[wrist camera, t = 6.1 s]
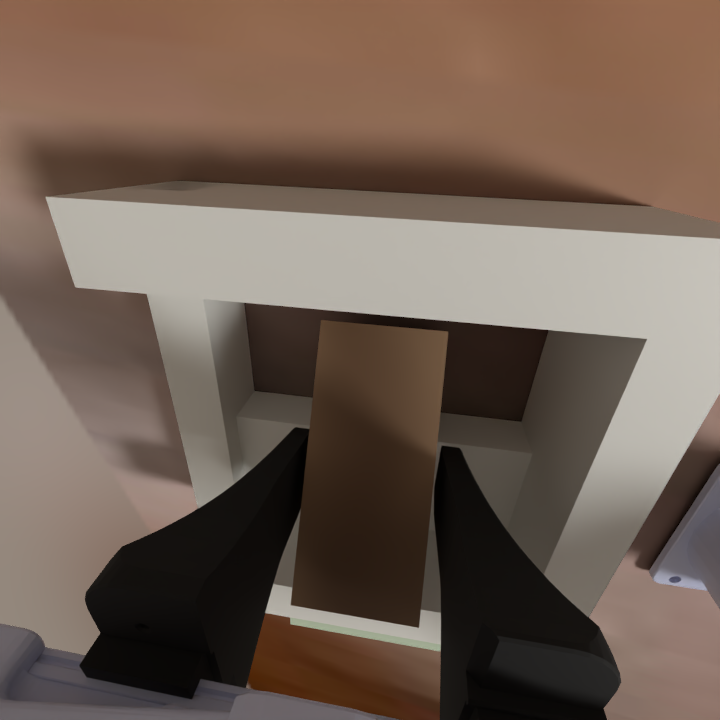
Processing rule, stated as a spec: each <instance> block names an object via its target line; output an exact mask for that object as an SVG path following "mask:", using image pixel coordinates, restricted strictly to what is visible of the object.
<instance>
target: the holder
mask: <svg viewBox="0 0 720 720" xmlns="http://www.w3.org/2000/svg"><path fill="white" fill-rule="evenodd" d="M46 200H47V203H48V206H49V209H50V212H51V215H52V218H53V221H54V224H55V227H56V230H57V234H58V237H59V240H60V243H61V246H62V249H63V252H64V255H65V258H66V261H67V264H68V267H69V270H70V273H71V276H72V279H73V282H74V285H75V287H76V288H87V289H98V290H109V291H120V292H131V293H142V294H147V297H148V301H149V306H150V310H151V314H152V318H153V322H154V327H155V331H156V335H157V339H158V343H159V347H160V352H161V356H162V360H163V364H164V368H165V372H166V377H167V381H168V385H169V389H170V393H171V397H172V402H173V406H174V410H175V414H176V418H177V423H178V427H179V431H180V435H181V439H182V443H183V448H184V452H185V456H186V460H187V464H188V468H189V473H190V477H191V481H192V485H193V489H194V494H195V498H196V502H197V506H198V508H200V507H202V506H203V505H205V504H206V503H208V502H209V501H211V500H213V499H214V498H216V497H217V496H218V495H220V494H221V493H223V492H224V491H225V490H227V489H228V488H229V487H231V486H232V485H233V484H235V483H236V482H237V481H238V480H240V479H241V478H242V477H243V476H244V475H246V474H247V473H248V472H249V471H250V470H251V469H253V468H254V467H255V466H256V465H257V464H258V463H259V462H260V461H261V460H262V459H264V458H265V457H266V456H267V455H268V454H269V453H270V452H271V451H272V450H273V449H274V448H275V447H276V446H277V445H278V444H279V443H280V442H281V441H282V440H283V439H284V438H285V437H286V436H287V435H288V434H289V433H290V431H291V430H292V429H294V428H295V427H298V428H306V429H309V428H310V418H311V409H312V400H313V398H312V397H303V396H294V395H286V394H277V393H268V392H260V391H254V383H253V375H252V366H251V357H250V348H249V339H248V330H247V322H246V313H245V304H244V303H254V304H265V305H276V306H287V307H298V308H309V309H320V310H331V311H342V312H354V313H365V314H376V315H387V316H398V317H409V318H420V319H431V320H442V321H454V322H465V323H476V324H487V325H498V326H509V327H520V328H531V329H542V330H549V331H548V334H547V337H546V341H545V344H544V347H543V351H542V354H541V357H540V361H539V364H538V368H537V371H536V374H535V378H534V381H533V384H532V388H531V391H530V394H529V398H528V401H527V404H526V408H525V411H524V414H523V418H522V421H521V422H519V421H510V420H501V419H493V418H484V417H476V416H467V415H458V414H450V413H441V412H440V422H439V432H438V442H437V452H436V462H435V472H434V482H433V492H432V503H431V513H430V523H429V533H428V543H427V553H426V563H425V573H424V583H423V593H422V603H421V613H420V623H419V628H417V627H411V626H406V625H400V624H394V623H389V622H383V621H377V620H372V619H366V618H360V617H354V616H349V615H343V614H337V613H332V612H326V611H320V610H315V609H309V608H303V607H298V606H292V605H291V596H292V587H293V577H294V568H295V559H296V549H297V540H298V531H299V521H300V512H301V509H300V512H299V514H298V517H297V519H296V522H295V524H294V527H293V529H292V532H291V534H290V537H289V539H288V542H287V544H286V547H285V549H284V552H283V555H282V557H281V560H280V563H279V566H278V570H277V573H276V577H275V580H274V583H273V587H272V590H271V594H270V597H269V601H268V604H267V608H266V612H265V613H269V614H274V615H280V616H285V617H291V618H297V619H302V620H308V621H313V622H319V623H324V624H330V625H335V626H341V627H346V628H352V629H357V630H363V631H368V632H374V633H379V634H385V635H390V636H396V637H402V638H407V639H413V640H418V641H424V642H429V643H435V644H440V645H441V588H440V573H439V563H438V553H437V543H436V532H435V522H434V485H435V480H436V474H437V469H438V463H439V458H440V452H441V447H442V446H450V447H458V448H460V449H461V450H462V452H463V455H464V457H465V460H466V462H467V464H468V466H469V468H470V470H471V472H472V474H473V476H474V478H475V480H476V482H477V484H478V485H479V487H480V489H481V491H482V492H483V494H484V496H485V498H486V499H487V501H488V503H489V504H490V506H491V508H492V509H493V511H494V512H495V514H496V515H497V517H498V518H499V520H500V521H501V523H502V524H503V526H504V527H505V528H506V530H507V531H508V532H509V534H510V535H511V536H512V538H513V539H514V540H515V542H516V543H517V544H518V545H519V547H520V548H521V549H522V550H523V552H524V553H525V554H526V555H527V557H528V558H529V559H530V560H531V561H532V562H533V563H534V564H535V565H536V567H537V568H538V569H539V570H540V571H541V572H542V573H543V574H544V575H545V576H546V578H547V579H548V580H549V581H550V582H551V583H552V584H553V585H554V586H555V587H556V588H557V589H558V590H559V591H560V592H561V593H562V594H563V595H564V596H565V597H566V598H567V599H568V600H569V601H571V602H572V603H573V604H574V605H575V606H576V607H577V608H578V609H580V610H581V611H582V612H583V613H584V614H585V615H586V616H587V617H589V616H590V614H591V613H592V611H593V609H594V607H595V606H596V604H597V602H598V601H599V599H600V597H601V596H602V594H603V592H604V590H605V589H606V587H607V585H608V584H609V582H610V580H611V578H612V577H613V575H614V573H615V572H616V570H617V568H618V566H619V565H620V563H621V561H622V560H623V558H624V556H625V554H626V553H627V551H628V549H629V548H630V546H631V544H632V542H633V541H634V539H635V537H636V536H637V534H638V532H639V530H640V529H641V527H642V525H643V524H644V522H645V520H646V518H647V517H648V515H649V513H650V512H651V510H652V508H653V507H654V505H655V503H656V501H657V500H658V498H659V496H660V495H661V493H662V491H663V489H664V488H665V486H666V484H667V483H668V481H669V479H670V477H671V476H672V474H673V472H674V471H675V469H676V467H677V465H678V464H679V462H680V460H681V459H682V457H683V455H684V453H685V452H686V450H687V448H688V447H689V445H690V443H691V441H692V440H693V438H694V436H695V435H696V433H697V431H698V429H699V428H700V426H701V424H702V423H703V421H704V419H705V417H706V416H707V414H708V412H709V411H710V409H711V407H712V406H713V404H714V402H715V400H716V399H717V397H718V395H719V394H720V223H718V222H714V221H710V220H706V219H702V218H698V217H694V216H690V215H685V214H681V213H677V212H673V211H669V210H665V209H661V208H657V207H650V206H632V205H614V204H596V203H577V202H559V201H541V200H523V199H504V198H486V197H468V196H450V195H432V194H413V193H395V192H377V191H359V190H340V189H322V188H304V187H286V186H268V185H249V184H231V183H213V182H195V181H171V182H162V183H154V184H146V185H138V186H130V187H121V188H113V189H105V190H97V191H89V192H80V193H72V194H64V195H56V196H48V197H46Z"/></svg>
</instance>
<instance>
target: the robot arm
mask: <svg viewBox="0 0 720 720" xmlns="http://www.w3.org/2000/svg"><path fill="white" fill-rule="evenodd" d="M308 437H309V429H306V428H298V427H295V428H294V429H292V430H291V431H290V433H289V434H288V435H287V436H286V437H285V438H284V439H283V440H282V441H281V442H280V443H279V444H278V445H277V446H276V447H275V448H274V449H273V450H272V451H271V452H270V453H269V454H268V455H267V456H266V457H265V458H264V459H262V460H261V461H260V462H259V463H258V464H257V465H256V466H255V467H254V468H253V469H251V470H250V471H249V472H248V473H247V474H246V475H244V476H243V477H242V478H241V479H240V480H238V481H237V482H236V483H235V484H233V485H232V486H231V487H229V488H228V489H227V490H225V491H224V492H223V493H221V494H220V495H218V496H217V497H216V498H214V499H213V500H211V501H209V502H208V503H206V504H205V505H203V506H202V507H200V508H198V509H197V510H195V511H194V512H192V513H190V514H189V515H187V516H185V517H183V518H181V519H180V520H178V521H176V522H174V523H172V524H170V525H168V526H166V527H164V528H162V529H160V530H158V531H156V532H154V533H152V534H150V535H148V536H145V537H143V538H141V539H139V540H136V541H134V542H132V543H130V544H127V545H125V546H123V547H121V549H120V550H119V551H118V552H117V553H116V554H115V555H114V557H113V558H112V559H111V560H110V561H109V563H108V564H107V565H106V567H105V568H104V570H103V571H102V572H101V573H100V575H99V576H98V577H97V579H96V580H95V581H94V583H93V584H92V585H91V586H90V588H89V589H88V591H87V592H86V596H85V602H86V605H87V608H88V610H89V612H90V614H91V616H92V618H93V620H94V621H95V623H96V625H97V627H98V629H99V631H100V635H99V636H98V638H97V639H96V641H95V642H94V644H93V645H92V647H91V648H90V650H89V651H88V653H87V654H86V655H80V654H76V653H71V652H66V651H61V650H57V649H51V648H47V647H45V644H44V642H43V640H42V638H41V637H40V636H39V635H38V634H37V633H35V632H33V631H31V630H28V629H25V628H20V627H15V626H10V625H5V624H0V720H399V719H394V718H389V717H385V716H380V715H375V714H370V713H365V712H362V711H359V710H355V709H350V708H345V707H341V706H336V705H331V704H326V703H321V702H316V701H311V700H306V699H301V698H296V697H292V696H287V695H282V694H277V693H272V692H264V691H257V690H252V689H247V688H246V685H247V681H248V677H249V673H250V669H251V665H252V661H253V657H254V653H255V649H256V645H257V641H258V638H259V634H260V630H261V626H262V622H263V619H264V615H265V612H266V608H267V604H268V601H269V597H270V594H271V590H272V587H273V583H274V580H275V577H276V573H277V570H278V566H279V563H280V560H281V557H282V555H283V552H284V549H285V547H286V544H287V542H288V539H289V537H290V534H291V532H292V529H293V527H294V524H295V522H296V519H297V517H298V514H299V512H300V509H301V503H302V493H303V484H304V474H305V465H306V456H307V446H308ZM434 522H435V532H436V543H437V553H438V563H439V573H440V588H441V682H440V720H607V718H606V715H605V712H604V709H603V708H604V707H605V706H606V704H607V703H608V702H609V701H610V699H611V698H612V697H613V695H614V694H615V693H616V691H617V690H618V688H619V685H620V683H621V678H620V673H619V670H618V668H617V665H616V662H615V660H614V657H613V655H612V653H611V650H610V648H609V646H608V644H607V642H606V640H605V638H604V636H603V634H602V632H601V630H600V628H599V626H597V625H596V624H595V623H594V622H593V621H592V620H591V619H590V618H589V617H587V616H586V615H585V614H584V613H583V612H582V611H581V610H580V609H578V608H577V607H576V606H575V605H574V604H573V603H572V602H571V601H569V600H568V599H567V598H566V597H565V596H564V595H563V594H562V593H561V592H560V591H559V590H558V589H557V588H556V587H555V586H554V585H553V584H552V583H551V582H550V581H549V580H548V579H547V578H546V576H545V575H544V574H543V573H542V572H541V571H540V570H539V569H538V568H537V567H536V565H535V564H534V563H533V562H532V561H531V560H530V559H529V558H528V557H527V555H526V554H525V553H524V552H523V550H522V549H521V548H520V547H519V545H518V544H517V543H516V542H515V540H514V539H513V538H512V536H511V535H510V534H509V532H508V531H507V530H506V528H505V527H504V526H503V524H502V523H501V521H500V520H499V518H498V517H497V515H496V514H495V512H494V511H493V509H492V508H491V506H490V504H489V503H488V501H487V499H486V498H485V496H484V494H483V492H482V491H481V489H480V487H479V485H478V484H477V482H476V480H475V478H474V476H473V474H472V472H471V470H470V468H469V466H468V464H467V462H466V460H465V457H464V455H463V452H462V450H461V449H460V448H458V447H450V446H442V447H441V452H440V458H439V463H438V469H437V474H436V480H435V485H434ZM649 573H650V575H651V577H652V579H653V580H654V581H655V582H657V583H661V584H667V585H674V586H680V587H687V588H693V589H699V590H706V591H708V592H709V593H710V595H711V597H712V598H713V600H714V601H715V603H716V604H717V606H718V607H719V609H720V464H719V465H718V466H717V467H716V469H715V470H714V472H713V473H712V475H711V476H710V478H709V479H708V481H707V482H706V484H705V486H704V487H703V489H702V490H701V492H700V493H699V495H698V496H697V498H696V499H695V501H694V502H693V504H692V506H691V507H690V509H689V510H688V512H687V513H686V515H685V516H684V518H683V519H682V521H681V522H680V524H679V525H678V527H677V529H676V530H675V532H674V533H673V535H672V536H671V538H670V539H669V541H668V542H667V544H666V545H665V547H664V548H663V550H662V552H661V553H660V555H659V556H658V558H657V559H656V561H655V562H654V564H653V565H652V567H651V568H650V570H649Z"/></svg>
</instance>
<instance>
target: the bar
mask: <svg viewBox="0 0 720 720" xmlns="http://www.w3.org/2000/svg"><path fill="white" fill-rule="evenodd" d="M447 342H448V332H447V331H436V330H425V329H414V328H403V327H392V326H381V325H370V324H359V323H349V322H338V321H327V320H321V325H320V334H319V344H318V353H317V362H316V372H315V381H314V390H313V400H312V409H311V418H310V428H309V437H308V446H307V456H306V465H305V474H304V484H303V493H302V503H301V512H300V521H299V531H298V540H297V549H296V559H295V568H294V577H293V587H292V596H291V605H292V606H298V607H303V608H309V609H315V610H320V611H326V612H332V613H337V614H343V615H349V616H354V617H360V618H366V619H372V620H377V621H383V622H389V623H394V624H400V625H406V626H411V627H417V628H419V623H420V613H421V603H422V593H423V583H424V573H425V563H426V553H427V543H428V533H429V523H430V513H431V503H432V492H433V482H434V472H435V462H436V452H437V442H438V432H439V422H440V412H441V402H442V392H443V382H444V372H445V362H446V352H447Z"/></svg>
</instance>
